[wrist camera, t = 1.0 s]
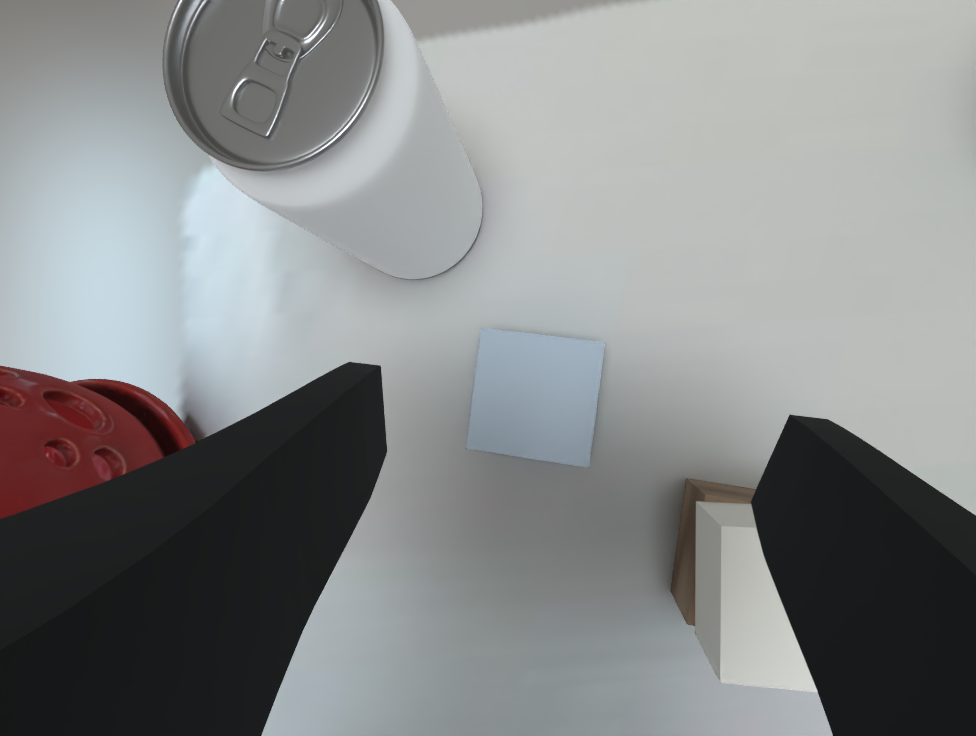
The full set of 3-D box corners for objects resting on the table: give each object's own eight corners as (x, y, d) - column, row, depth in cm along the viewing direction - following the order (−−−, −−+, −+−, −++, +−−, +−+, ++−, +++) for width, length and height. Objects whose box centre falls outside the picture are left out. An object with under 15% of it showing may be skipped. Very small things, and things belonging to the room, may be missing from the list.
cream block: (839, 645, 18) (894, 699, 15) (695, 633, 19) (720, 682, 16) (840, 507, 18) (895, 535, 15) (696, 501, 19) (721, 526, 16)
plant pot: (146, 666, 25) (-219, 925, 13) (-18, 497, 27) (-474, 597, 15) (295, 474, 24) (39, 572, 12) (115, 310, 26) (-266, 257, 14)
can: (509, 180, 23) (451, -31, 11) (445, 305, 23) (321, 234, 11) (390, 124, 24) (216, -128, 12) (330, 245, 24) (103, 121, 12)
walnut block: (791, 613, 21) (829, 653, 18) (669, 589, 22) (686, 624, 19) (808, 497, 21) (848, 518, 18) (685, 477, 22) (705, 494, 19)
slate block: (585, 455, 22) (588, 467, 19) (478, 438, 23) (465, 448, 20) (599, 346, 22) (605, 342, 19) (491, 333, 23) (480, 327, 20)
